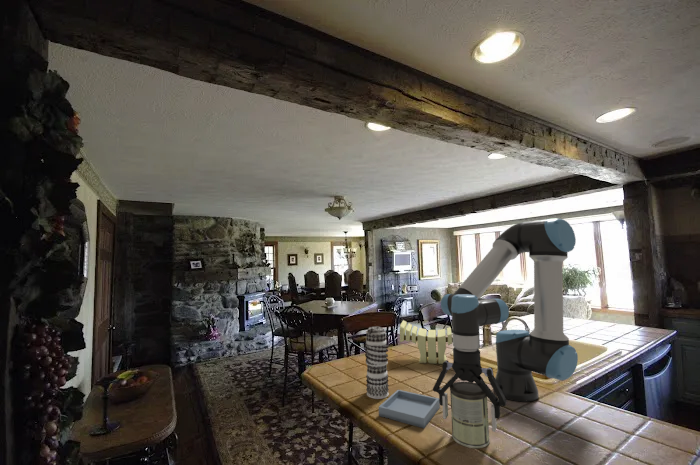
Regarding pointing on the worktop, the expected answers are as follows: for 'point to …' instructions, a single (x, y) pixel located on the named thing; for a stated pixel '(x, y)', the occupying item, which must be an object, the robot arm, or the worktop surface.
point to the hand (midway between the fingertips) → (469, 423)
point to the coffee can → (469, 415)
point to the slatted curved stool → (431, 340)
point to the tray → (409, 408)
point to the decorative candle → (376, 363)
